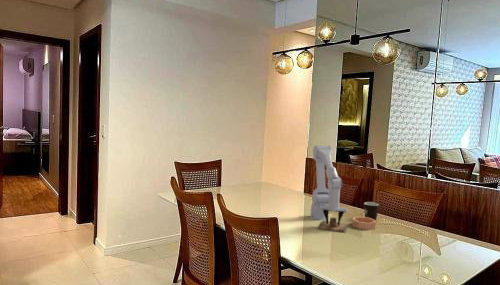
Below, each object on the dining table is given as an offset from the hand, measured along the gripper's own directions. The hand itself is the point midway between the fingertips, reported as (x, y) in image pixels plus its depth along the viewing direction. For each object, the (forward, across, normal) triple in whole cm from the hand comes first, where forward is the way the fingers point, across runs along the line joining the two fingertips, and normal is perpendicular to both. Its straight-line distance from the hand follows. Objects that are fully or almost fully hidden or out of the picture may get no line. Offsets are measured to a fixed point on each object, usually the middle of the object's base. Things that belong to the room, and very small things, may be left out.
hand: (332, 224), depth 197 cm
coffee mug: (+2, +19, +27) cm, 33 cm away
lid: (+2, 0, 0) cm, 2 cm away
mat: (+2, 0, 0) cm, 2 cm away
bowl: (+2, +16, +10) cm, 19 cm away
